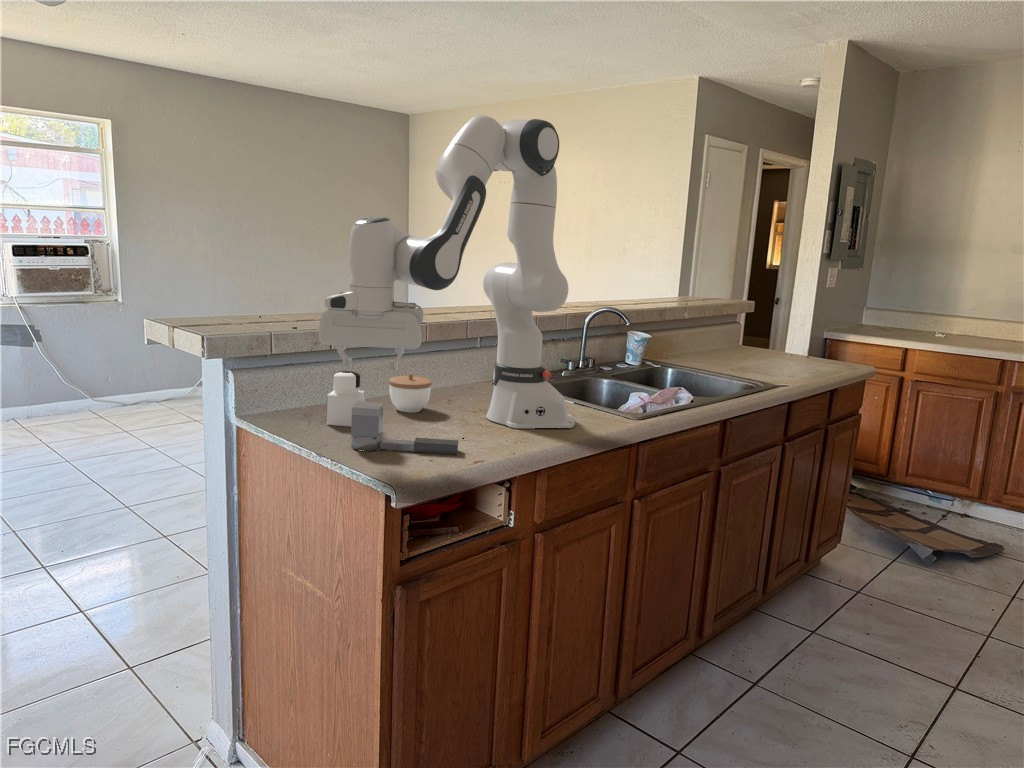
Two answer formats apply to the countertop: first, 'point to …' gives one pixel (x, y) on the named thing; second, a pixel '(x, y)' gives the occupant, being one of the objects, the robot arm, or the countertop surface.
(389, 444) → the ratchet
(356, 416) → the grey metal cube
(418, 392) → the lidded jar
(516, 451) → the countertop surface
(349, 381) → the medicine bottle
